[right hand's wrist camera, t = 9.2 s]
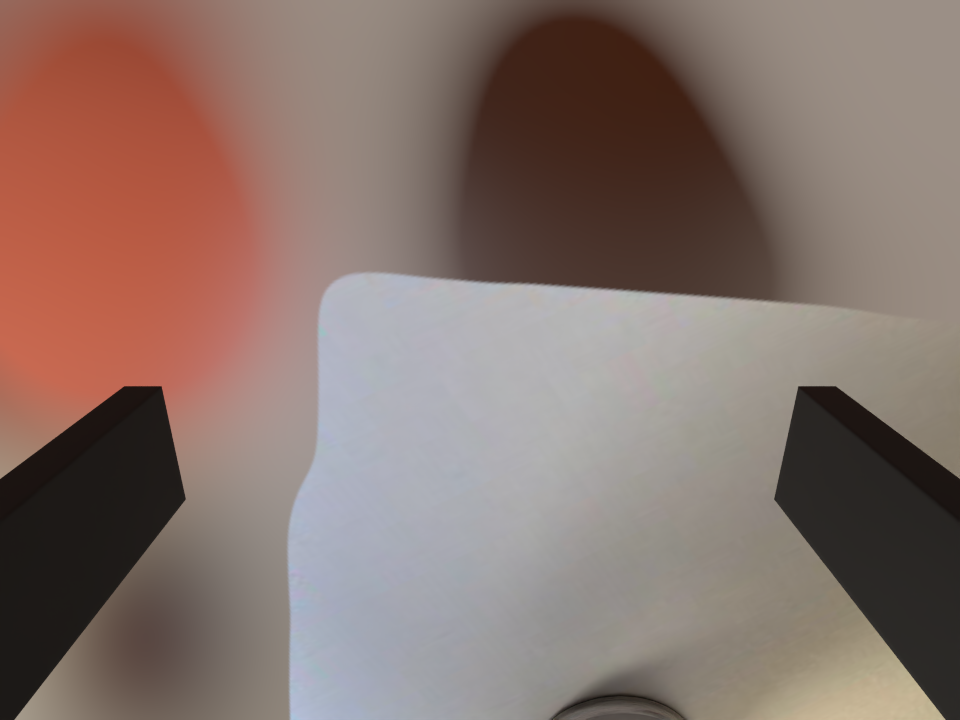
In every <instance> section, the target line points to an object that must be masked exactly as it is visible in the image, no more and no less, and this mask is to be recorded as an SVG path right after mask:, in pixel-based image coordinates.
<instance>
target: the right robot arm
mask: <svg viewBox="0 0 960 720" xmlns="http://www.w3.org/2000/svg"><path fill="white" fill-rule="evenodd" d="M185 499H186V498H185V494H184V489H183V484H182V480H181V475H180V470H179V466H178V461H177V456H176V452H175V447H174V442H173V438H172V433H171V429H170V424H169V419H168V415H167V410H166V405H165V400H164V396H163V391H162V387H161V386H124V387H123V388H122V389H120V390H119V391H118V392H116V393H115V394H113V395H112V396H111V397H110V398H108V399H107V400H105V401H104V402H103V403H101V404H100V405H99V406H97V407H96V408H95V409H93V410H92V411H91V412H89V413H88V414H87V415H85V416H84V417H83V418H81V419H80V420H79V421H77V422H76V423H75V424H73V425H72V426H71V427H69V428H68V429H67V430H65V431H64V432H63V433H61V434H60V435H59V436H57V437H56V438H55V439H53V440H52V441H51V442H49V443H48V444H47V445H45V446H44V447H43V448H41V449H40V450H39V451H37V452H36V453H35V454H33V455H32V456H30V457H29V458H28V459H26V460H25V461H24V462H22V463H21V464H20V465H18V466H17V467H16V468H14V469H13V470H12V471H10V472H9V473H8V474H6V475H5V476H4V477H2V478H1V479H0V720H14V719H15V718H16V717H17V716H18V714H19V713H20V712H21V710H22V709H23V708H24V707H25V705H26V704H27V703H28V701H29V700H30V699H31V698H32V696H33V695H34V694H35V692H36V691H37V690H38V689H39V687H40V686H41V685H42V683H43V682H44V681H45V680H46V678H47V677H48V676H49V674H50V673H51V672H52V671H53V669H54V668H55V667H56V665H57V664H58V663H59V662H60V660H61V659H62V658H63V656H64V655H65V654H66V653H67V651H68V650H69V649H70V647H71V646H72V645H73V644H74V642H75V641H76V640H77V638H78V637H79V636H80V635H81V633H82V632H83V631H84V629H85V628H86V627H87V626H88V624H89V623H90V622H91V620H92V619H93V618H94V617H95V615H96V614H97V613H98V611H99V610H100V609H101V608H102V606H103V605H104V604H105V602H106V601H107V600H108V599H109V597H110V596H111V595H112V593H113V592H114V591H115V590H116V588H117V587H118V586H119V584H120V583H121V582H122V581H123V579H124V578H125V577H126V575H127V574H128V573H129V572H130V570H131V569H132V568H133V566H134V565H135V564H136V563H137V561H138V560H139V559H140V557H141V556H142V555H143V554H144V552H145V551H146V550H147V548H148V547H149V546H150V545H151V543H152V542H153V541H154V539H155V538H156V537H157V535H158V534H159V533H160V532H161V530H162V529H163V528H164V527H165V525H166V524H167V523H168V521H169V520H170V519H171V518H172V516H173V515H174V514H175V512H176V511H177V510H178V509H179V507H180V506H181V505H182V503H183V502H184V501H185ZM774 500H775V501H776V502H777V503H778V505H779V506H780V507H781V509H782V510H783V511H784V512H785V514H786V515H787V516H788V518H789V519H790V520H791V521H792V523H793V524H794V525H795V527H796V528H797V529H798V530H799V532H800V533H801V534H802V536H803V537H804V538H805V539H806V541H807V542H808V543H809V545H810V546H811V547H812V548H813V550H814V551H815V552H816V554H817V555H818V556H819V557H820V559H821V560H822V561H823V563H824V564H825V565H826V566H827V568H828V569H829V570H830V572H831V573H832V574H833V575H834V577H835V578H836V579H837V581H838V582H839V583H840V584H841V586H842V587H843V588H844V590H845V591H846V592H847V593H848V595H849V596H850V597H851V599H852V600H853V601H854V602H855V604H856V605H857V606H858V608H859V609H860V610H861V611H862V613H863V614H864V615H865V617H866V618H867V619H868V620H869V622H870V623H871V624H872V626H873V627H874V628H875V629H876V631H877V632H878V633H879V635H880V636H881V637H882V638H883V640H884V641H885V642H886V644H887V645H888V646H889V647H890V649H891V650H892V651H893V653H894V654H895V655H896V656H897V658H898V659H899V660H900V662H901V663H902V664H903V665H904V667H905V668H906V669H907V671H908V672H909V673H910V674H911V676H912V677H913V678H914V680H915V681H916V682H917V683H918V685H919V686H920V687H921V689H922V690H923V691H924V692H925V694H926V695H927V696H928V698H929V699H930V700H931V701H932V703H933V704H934V705H935V707H936V708H937V709H938V710H939V712H940V713H941V714H942V716H943V717H944V718H945V719H946V720H960V479H959V478H958V477H956V476H955V475H954V474H952V473H951V472H950V471H948V470H947V469H946V468H944V467H943V466H942V465H940V464H939V463H938V462H936V461H935V460H934V459H932V458H931V457H930V456H928V455H927V454H926V453H924V452H923V451H922V450H920V449H919V448H917V447H916V446H915V445H913V444H912V443H911V442H909V441H908V440H907V439H905V438H904V437H903V436H901V435H900V434H899V433H897V432H896V431H895V430H893V429H892V428H891V427H889V426H888V425H887V424H885V423H884V422H883V421H881V420H880V419H879V418H877V417H876V416H875V415H873V414H872V413H871V412H869V411H868V410H867V409H865V408H864V407H863V406H861V405H860V404H859V403H857V402H856V401H855V400H853V399H852V398H851V397H849V396H848V395H847V394H845V393H844V392H843V391H841V390H840V389H838V388H837V387H836V386H798V391H797V396H796V400H795V405H794V410H793V414H792V419H791V424H790V428H789V433H788V438H787V442H786V447H785V452H784V456H783V461H782V466H781V470H780V475H779V480H778V484H777V489H776V494H775V498H774ZM552 720H684V719H683V718H682V717H681V716H680V715H679V714H677V713H676V712H675V711H673V710H672V709H670V708H668V707H666V706H664V705H662V704H660V703H657V702H654V701H651V700H647V699H643V698H637V697H625V696H616V697H604V698H598V699H594V700H590V701H586V702H583V703H580V704H578V705H575V706H573V707H571V708H569V709H567V710H565V711H564V712H562V713H560V714H559V715H557V716H556V717H555V718H553V719H552Z"/></svg>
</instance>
